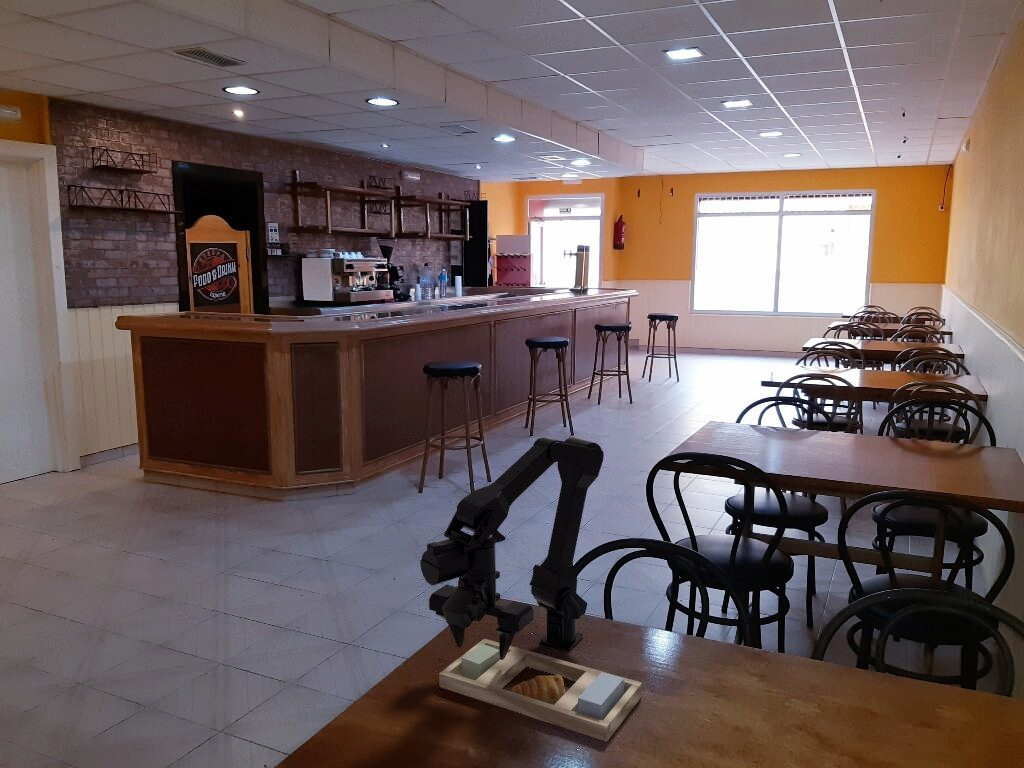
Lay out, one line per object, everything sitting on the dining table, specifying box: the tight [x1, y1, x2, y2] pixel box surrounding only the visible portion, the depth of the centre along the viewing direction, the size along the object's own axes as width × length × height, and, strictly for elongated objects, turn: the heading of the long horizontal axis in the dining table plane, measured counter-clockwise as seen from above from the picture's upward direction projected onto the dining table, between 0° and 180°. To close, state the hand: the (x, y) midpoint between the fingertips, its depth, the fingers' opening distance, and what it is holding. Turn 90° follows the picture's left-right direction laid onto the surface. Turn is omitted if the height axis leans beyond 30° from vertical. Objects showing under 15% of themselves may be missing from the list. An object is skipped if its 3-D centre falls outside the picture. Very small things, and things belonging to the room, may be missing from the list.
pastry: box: [510, 674, 567, 705], centre depth 131 cm, size 9×7×4 cm
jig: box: [438, 638, 643, 743], centre depth 133 cm, size 14×31×2 cm, turn 59°
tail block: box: [461, 644, 500, 680], centre depth 139 cm, size 6×4×4 cm, turn 144°
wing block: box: [578, 671, 625, 720], centre depth 127 cm, size 9×4×4 cm, turn 149°
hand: (481, 652), depth 139 cm, fingers open, 9 cm apart
